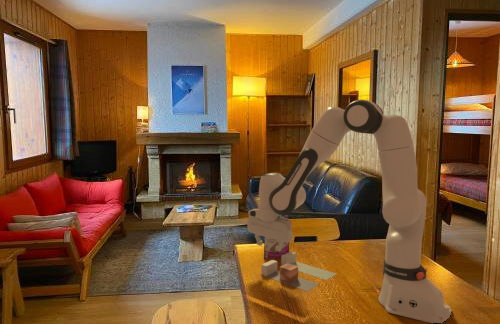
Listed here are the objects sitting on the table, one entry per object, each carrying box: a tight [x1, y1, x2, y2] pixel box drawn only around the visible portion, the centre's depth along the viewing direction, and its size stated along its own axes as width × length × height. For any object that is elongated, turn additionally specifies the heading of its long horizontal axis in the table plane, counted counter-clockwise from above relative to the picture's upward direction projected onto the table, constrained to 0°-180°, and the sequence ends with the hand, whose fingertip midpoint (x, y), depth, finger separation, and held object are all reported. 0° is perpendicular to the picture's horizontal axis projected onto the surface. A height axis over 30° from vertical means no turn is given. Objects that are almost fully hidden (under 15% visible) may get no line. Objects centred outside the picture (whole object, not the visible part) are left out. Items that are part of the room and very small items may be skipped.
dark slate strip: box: [260, 259, 320, 292], centre depth 148 cm, size 22×8×5 cm, turn 48°
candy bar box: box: [263, 236, 290, 260], centre depth 173 cm, size 11×5×16 cm, turn 84°
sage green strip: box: [279, 251, 337, 281], centre depth 158 cm, size 22×8×5 cm, turn 48°
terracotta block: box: [279, 263, 299, 283], centre depth 148 cm, size 5×5×5 cm
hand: (268, 247), depth 154 cm, fingers open, 8 cm apart
